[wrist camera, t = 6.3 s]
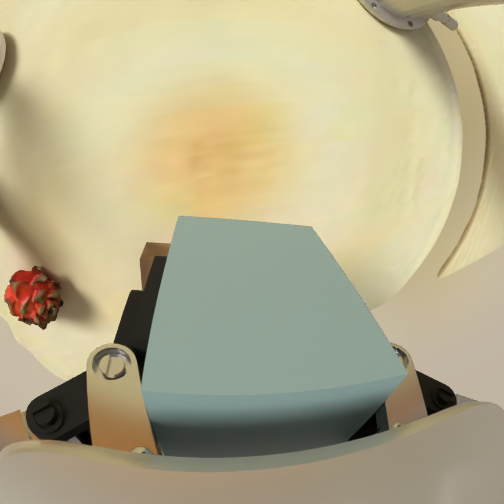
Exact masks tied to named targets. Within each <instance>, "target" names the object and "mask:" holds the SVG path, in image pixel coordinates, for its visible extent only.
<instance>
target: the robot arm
mask: <svg viewBox="0 0 504 504" xmlns="http://www.w3.org/2000/svg"><path fill="white" fill-rule="evenodd" d="M359 2H360V3H361V4H362V5H363V6H364V7H365V8H366V9H367V10H368V11H369V12H370V13H371V14H372V15H373V16H375V17H376V18H378V19H379V20H380V21H382V22H384V23H386V24H387V25H389V26H392V27H394V28H397V29H401V30H414V29H418V28H421V27H422V26H424V25H425V24H426V23H427V21H428V20H429V19H430V18H432V19H433V20H435V21H438V20H439V21H440V22H441V23H442V24H444V25H445V26H446V27H448V28H449V29H450V30H455V29H457V27H458V23H457V21H455V20H454V19H453V18H452V17H450V16H449V15H447V14H445V13H444V12H443V11H449V10H454V9H460V8H467V7H474V6H484V5H497V4H504V0H359ZM167 257H168V256H155V257H154V260H153V263H152V266H151V269H150V272H149V275H148V279H147V282H146V285H145V288H144V291H140V290H131V292H130V294H129V297H128V300H127V302H126V305H125V308H124V311H123V314H122V317H121V321H120V324H119V327H118V330H117V333H116V337H115V340H114V343H113V344H105V345H102V346H100V347H98V348H96V349H95V350H94V351H93V352H91V354H90V355H89V357H88V360H87V371H85V372H83V373H81V374H80V375H78V376H76V377H74V378H72V379H70V380H68V381H67V382H65V383H63V384H61V385H59V386H57V387H55V388H53V389H52V390H50V391H48V392H46V393H44V394H42V395H40V396H38V397H37V398H35V399H34V400H33V401H31V403H30V404H29V405H28V407H27V410H26V411H25V412H21V411H20V410H18V411H15V412H12V413H9V414H7V415H4V416H1V417H0V504H504V410H503V409H502V408H501V407H500V406H498V405H496V404H494V403H490V402H479V401H476V400H473V399H470V398H467V397H464V396H461V395H458V394H456V395H455V394H454V392H453V391H452V389H451V388H450V387H448V386H447V385H445V384H443V383H441V382H439V381H437V380H435V379H433V378H431V377H429V376H427V375H425V374H423V373H421V372H418V371H416V370H415V368H414V364H413V361H412V358H411V356H410V354H409V353H408V352H407V351H406V350H405V349H404V348H403V347H401V346H399V345H397V344H393V343H390V344H391V346H392V347H393V349H394V350H395V352H396V354H397V355H398V357H399V359H400V361H401V362H402V364H403V366H404V367H405V369H406V371H407V373H408V374H407V375H406V377H405V378H404V379H403V380H402V382H401V383H400V384H399V385H398V387H397V388H396V389H395V390H394V391H393V393H392V394H391V395H390V396H389V397H388V399H387V400H386V401H385V402H384V403H383V404H382V405H381V407H380V408H379V409H378V410H377V411H376V412H375V413H374V414H373V415H372V416H371V417H370V418H369V420H368V421H367V422H366V423H365V424H364V425H363V426H362V427H361V428H360V429H359V430H358V431H357V432H356V433H355V434H354V435H353V436H352V437H351V438H350V439H348V440H347V441H346V442H344V443H340V444H336V445H331V446H326V447H321V448H316V449H310V450H304V451H297V452H290V453H283V454H274V455H263V456H250V457H230V458H195V457H175V456H163V453H162V450H161V447H160V445H159V442H158V439H157V437H156V434H155V432H154V429H153V426H152V423H151V420H150V418H149V415H148V412H147V409H146V406H145V403H144V400H143V396H142V393H141V383H142V377H143V371H144V364H145V359H146V353H147V347H148V342H149V337H150V331H151V326H152V321H153V317H154V312H155V307H156V303H157V298H158V294H159V289H160V285H161V281H162V277H163V272H164V268H165V264H166V260H167Z"/></svg>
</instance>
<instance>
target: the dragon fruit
mask: <svg viewBox="0 0 504 504" xmlns="http://www.w3.org/2000/svg"><path fill="white" fill-rule="evenodd" d="M36 267H37V266H34V267H33V268H32V271H31V272H30V271H24V270H19V271H17V272H15V273H14V274H13V275H12V277H11V279H10V281H9V282H10V285H8V286H7V289H6V290H5V295H4V299H5V302H6V303H7V304H8V306H9V309H10V313H11V314H12V315H13V316H19V319H18V321H22V322H24V323H26V324H28V325H31V324H32V323H33V324H35V325H38V326H39V327H40V328H41V329H43V330H44V329H46V326H47V323H50V321H55V320H56V318H57V313H58V311H59V307H61V306H63V300H62V299H61V297H60V295H59V294H58V293H57V292H56V289H58V290H60V289H61V286H60V283H58V282H57V281H52V280H51V279H50V278H48V277H47V276H46V275H44V273H42V272H41V271H40V270H38V269H37V268H36Z"/></svg>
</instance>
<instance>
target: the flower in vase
mask: <svg viewBox="0 0 504 504" xmlns="http://www.w3.org/2000/svg"><path fill="white" fill-rule="evenodd" d="M5 53H6V43H5V38H4V35H3V33H2V32H1V31H0V73H1V70H2V67H3V63H4V59H5Z"/></svg>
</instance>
